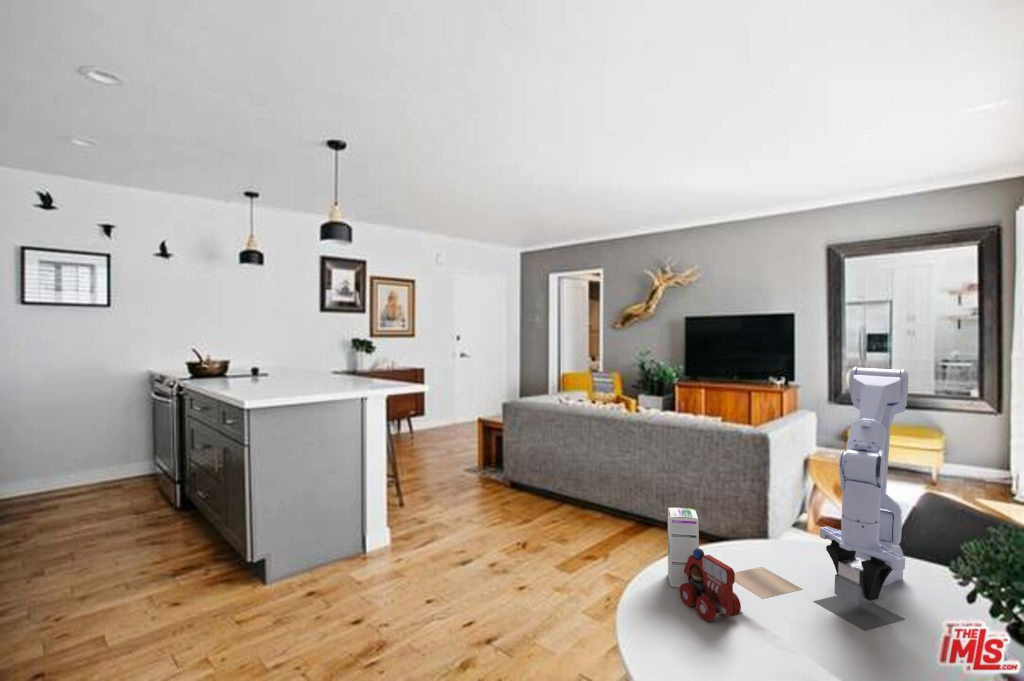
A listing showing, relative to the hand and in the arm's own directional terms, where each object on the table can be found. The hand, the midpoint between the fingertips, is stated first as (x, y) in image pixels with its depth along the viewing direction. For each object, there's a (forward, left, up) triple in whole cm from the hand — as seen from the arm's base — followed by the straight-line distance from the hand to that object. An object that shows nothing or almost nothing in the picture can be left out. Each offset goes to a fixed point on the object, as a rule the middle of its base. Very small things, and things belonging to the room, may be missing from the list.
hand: (858, 591), depth 97 cm
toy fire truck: (+23, -12, -5) cm, 26 cm away
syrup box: (+21, -22, -5) cm, 31 cm away
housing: (0, 0, -1) cm, 1 cm away
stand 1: (+8, -14, -5) cm, 17 cm away
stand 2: (0, 0, -5) cm, 5 cm away
